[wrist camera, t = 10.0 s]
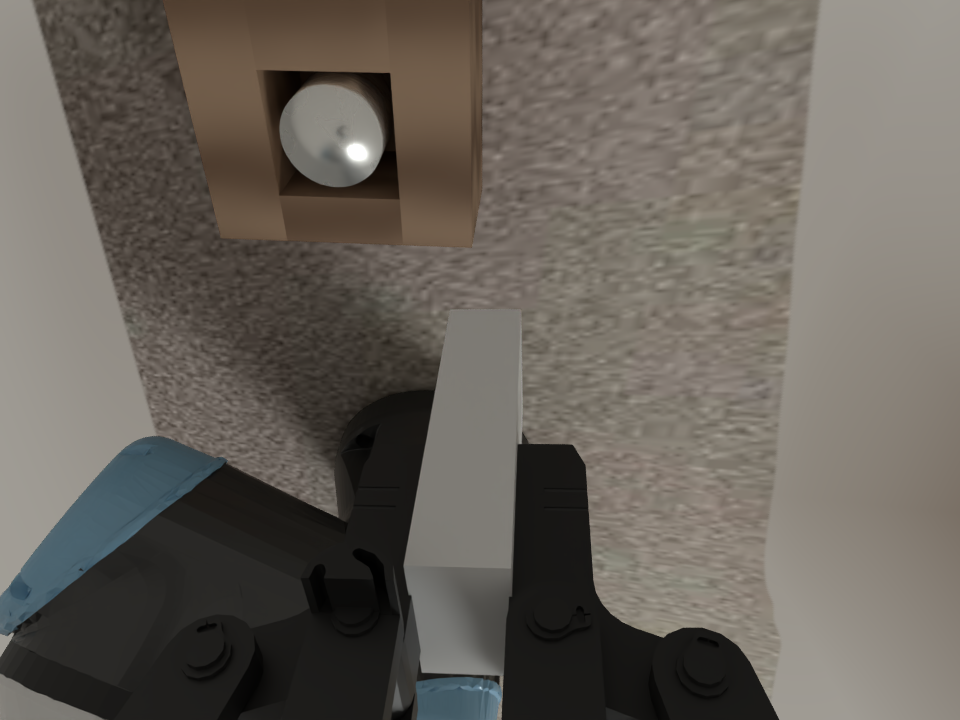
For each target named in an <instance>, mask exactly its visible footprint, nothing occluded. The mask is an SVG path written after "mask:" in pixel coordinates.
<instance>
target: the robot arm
mask: <svg viewBox="0 0 960 720" xmlns="http://www.w3.org/2000/svg"><path fill="white" fill-rule="evenodd" d="M522 415H523V396H522V331H521V309H450V312H449V318H448V323H447V329H446V334H445V340H444V345H443V351H442V356H441V362H440V367H439V373H438V378H437V384H436V389H435V391H412V392H405V393H399V394H395V395H392V396H388V397H386V398H383V399H380V400H378V401H376V402H374V403H372V404H370V405H369V406H367V407H366V408H364V409H363V410H362V411H360V412H359V413H358V414H357V415H356V416H355V417H354V418H353V419H352V420H351V422H350V423H349V425H348V426H347V428H346V430H345V432H344V434H343V437H342V440H341V443H340V446H339V449H338V453H337V456H336V460H335V469H334V476H335V486H336V496H337V506H338V515H339V518H338V517H335V516H333V515H331V514H329V513H327V512H325V511H323V510H320V509H318V508H316V507H314V506H312V505H310V504H308V503H306V502H304V501H301V500H299V499H297V498H295V497H293V496H291V495H289V494H287V493H285V492H283V491H281V490H279V489H277V488H275V487H273V486H271V485H269V484H267V483H265V482H263V481H261V480H259V479H257V478H255V477H253V476H251V475H249V474H247V473H245V472H243V471H241V470H239V469H237V468H235V467H232V466H230V465H228V464H226V463H227V461H228V460H226V459H225V458H223V457H217V458H214V457H212V456H209V455H207V454H205V453H202V452H200V451H198V450H195V449H193V448H190V447H188V446H186V445H183V444H181V443H179V442H176V441H174V440H171V439H169V438H165V437H160V436H152V437H145V438H142V439H139V440H137V441H135V442H133V443H131V444H130V445H128V446H127V447H125V448H124V449H123V450H122V451H121V452H120V453H119V454H118V455H117V456H116V457H115V458H114V459H113V460H112V461H111V462H110V463H109V464H108V465H107V466H106V467H105V468H104V470H103V471H102V472H101V473H100V474H99V475H98V476H97V477H96V478H95V480H94V481H93V482H92V483H91V484H90V485H89V486H88V487H87V489H86V490H85V491H84V492H83V493H82V494H81V495H80V497H79V498H78V499H77V500H76V501H75V503H74V504H73V505H72V506H71V507H70V508H69V510H68V511H67V512H66V513H65V515H64V516H63V517H62V518H61V519H60V521H59V522H58V523H57V524H56V525H55V526H54V528H53V529H52V530H51V531H50V533H49V534H48V535H47V536H46V538H45V539H44V540H43V541H42V543H41V544H40V545H39V547H38V548H37V549H36V550H35V551H34V553H33V554H32V555H31V557H30V558H29V559H28V561H27V562H26V563H25V565H24V566H23V567H22V569H21V572H20V573H19V574H18V575H17V576H16V577H15V579H14V580H13V581H12V583H11V585H10V586H9V587H8V589H7V590H6V591H5V592H4V593H3V594H2V595H1V596H0V634H3V635H5V636H8V635H9V634H10V633H14V635H13V637H12V639H11V641H10V643H9V645H8V646H7V647H6V649H5V651H4V652H3V654H2V656H1V657H0V720H497V713H498V706H499V703H500V701H501V697H502V692H501V688H500V676H504V679H503V701H502V720H779V718H778V716H777V714H776V712H775V711H774V708H773V706H772V704H771V703H770V701H769V699H768V697H767V695H766V693H765V691H764V689H763V687H762V685H761V683H760V681H759V679H758V677H757V675H756V673H755V671H754V669H753V667H752V665H751V663H750V662H749V660H748V659H747V657H746V656H745V655H744V653H743V652H742V651H741V649H740V648H739V647H738V646H737V645H736V644H734V643H733V642H732V641H730V640H729V639H727V638H726V637H725V636H723V635H722V634H720V633H717V632H714V631H711V630H708V629H705V628H682V629H679V630H677V631H674V632H672V633H669V634H667V635H666V636H665V637H664V638H662V637H659V636H657V635H654V634H651V633H648V632H645V631H642V630H639V629H636V628H634V627H632V626H629V625H627V624H625V623H623V622H621V621H620V620H619V619H617V618H616V617H614V616H613V615H612V614H610V612H609V611H608V610H607V609H606V608H605V607H604V606H603V604H602V603H601V601H600V599H599V597H598V595H597V594H596V591H595V586H594V581H593V569H592V554H591V539H590V525H589V512H588V496H587V481H586V466H585V464H584V462H583V461H582V459H581V457H580V456H579V454H578V453H577V451H576V449H575V448H574V446H573V445H565V444H529V443H528V442H527V440H526V438H525V437H524V435H523V434H522Z"/></svg>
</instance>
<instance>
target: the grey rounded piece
mask: <svg viewBox="0 0 960 720" xmlns="http://www.w3.org/2000/svg"><path fill="white" fill-rule="evenodd" d="M393 130H394V116H393V102H392V89H391V75H390V73H371V72H326V71H314V72H313V74H312V75H311V76H310V77H309V78H308V79H307V81H306V82H305V83H304V84H303V85H302V86H301V88H300V89H299V90H298V91H297V92H296V94H295V95H294V96H293V97H292V98H291V99H290V101H289V102H288V103H287V105H286V106H285V108H284V110H283V112H282V115H281V119H280V130H279V131H280V139H281V143H282V146H283V149H284V151H285V153H286V155H287V157H288V158H289V160H290V161H291V163H292V164H293V165H294V166H295V167H296V168H297V169H298V170H299V171H300V172H301V173H302V174H303V175H305V176H306V177H308V178H309V179H311V180H313V181H315V182H317V183H319V184H322V185H326V186H330V187H347V186H351V185H355V184H357V183H359V182H361V181H363V180H364V179H366V178H367V177H368V176H369V175H370V174H371V173H372V172H373V171H374V170H375V168H376V166H377V165H378V163H379V160H380V158H381V156H382V154H383V152H384V150H385V148H386V145H387V143H388V141H389V139H390V137H391V135H392V133H393Z"/></svg>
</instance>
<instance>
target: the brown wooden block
mask: <svg viewBox="0 0 960 720" xmlns="http://www.w3.org/2000/svg"><path fill="white" fill-rule="evenodd" d="M163 4H164V8H165V12H166V16H167V20H168V24H169V28H170V32H171V36H172V40H173V45H174V49H175V53H176V57H177V61H178V65H179V69H180V73H181V77H182V81H183V85H184V89H185V93H186V98H187V102H188V106H189V110H190V114H191V118H192V122H193V126H194V130H195V134H196V138H197V142H198V147H199V151H200V155H201V159H202V163H203V167H204V171H205V175H206V179H207V183H208V187H209V191H210V195H211V200H212V204H213V208H214V212H215V216H216V220H217V224H218V228H219V232H220V236H221V238H225V239H252V240H279V241H306V242H333V243H360V244H387V245H414V246H441V247H467V248H472V243H473V238H474V232H475V226H476V221H477V215H478V209H479V204H480V198H481V192H482V0H163ZM314 71H326V72H371V73H390V75H391V89H392V102H393V116H394V130H393V133H392V135H391V137H390V139H389V141H388V143H387V145H386V148H385V150H384V152H383V154H382V156H381V158H380V160H379V163H378V165H377V166H376V168H375V170H374V171H373V172H372V173H371V174H370V175H369V176H368V177H367V178H366V179H364V180H363V181H361V182H359V183H357V184H355V185H351V186H347V187H330V186H326V185H322V184H319V183H317V182H315V181H313V180H311V179H309V178H308V177H306V176H305V175H303V174H302V173H301V172H300V171H299V170H298V169H297V168H296V167H295V166H294V165H293V164H292V163H291V161H290V160H289V158H288V157H287V155H286V153H285V151H284V149H283V146H282V143H281V139H280V131H279V130H280V119H281V115H282V112H283V110H284V108H285V106H286V105H287V103H288V102H289V101H290V99H291V98H292V97H293V96H294V95H295V94H296V92H297V91H298V90H299V89H300V88H301V86H302V85H303V84H304V83H305V82H306V81H307V79H308V78H309V77H310V76H311V75H312V74H313V72H314Z"/></svg>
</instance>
